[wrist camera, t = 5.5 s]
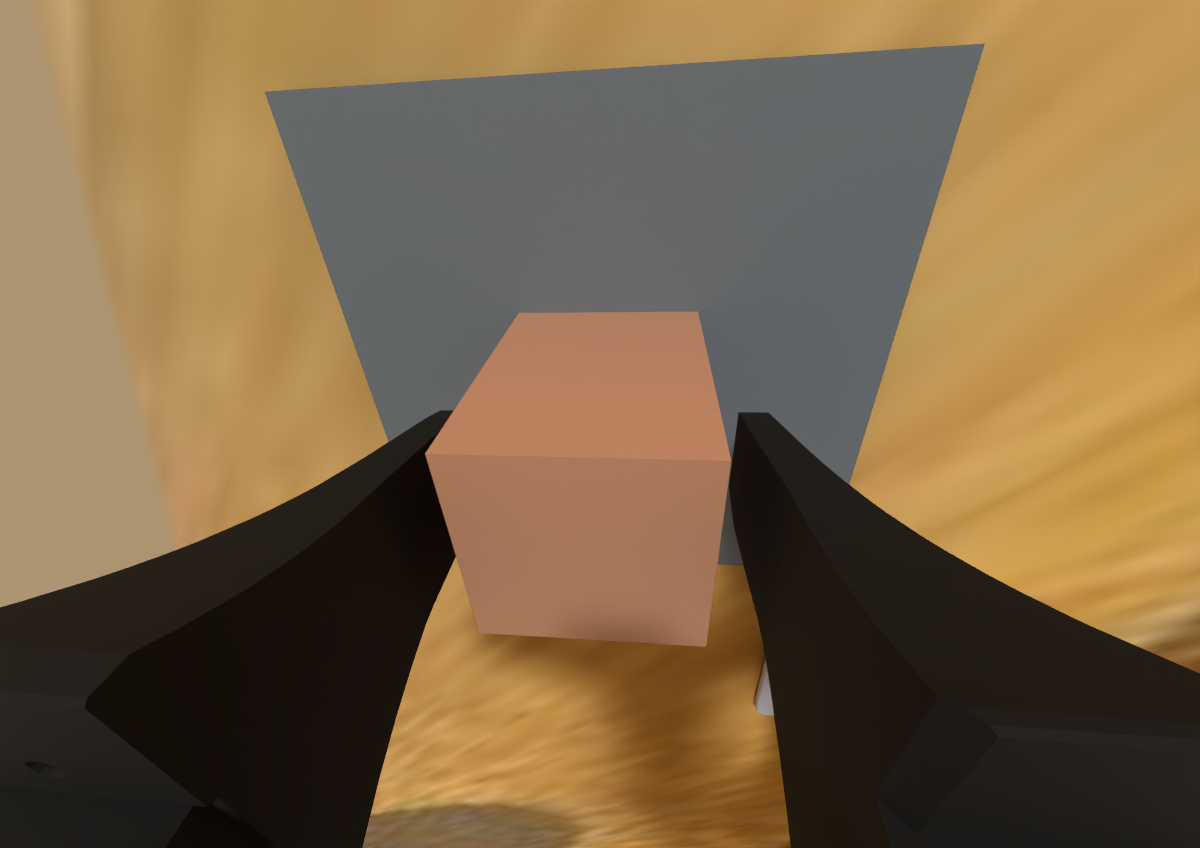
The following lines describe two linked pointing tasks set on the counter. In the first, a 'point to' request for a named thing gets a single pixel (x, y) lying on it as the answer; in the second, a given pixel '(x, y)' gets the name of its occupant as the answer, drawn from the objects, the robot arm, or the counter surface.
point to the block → (589, 479)
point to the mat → (638, 220)
